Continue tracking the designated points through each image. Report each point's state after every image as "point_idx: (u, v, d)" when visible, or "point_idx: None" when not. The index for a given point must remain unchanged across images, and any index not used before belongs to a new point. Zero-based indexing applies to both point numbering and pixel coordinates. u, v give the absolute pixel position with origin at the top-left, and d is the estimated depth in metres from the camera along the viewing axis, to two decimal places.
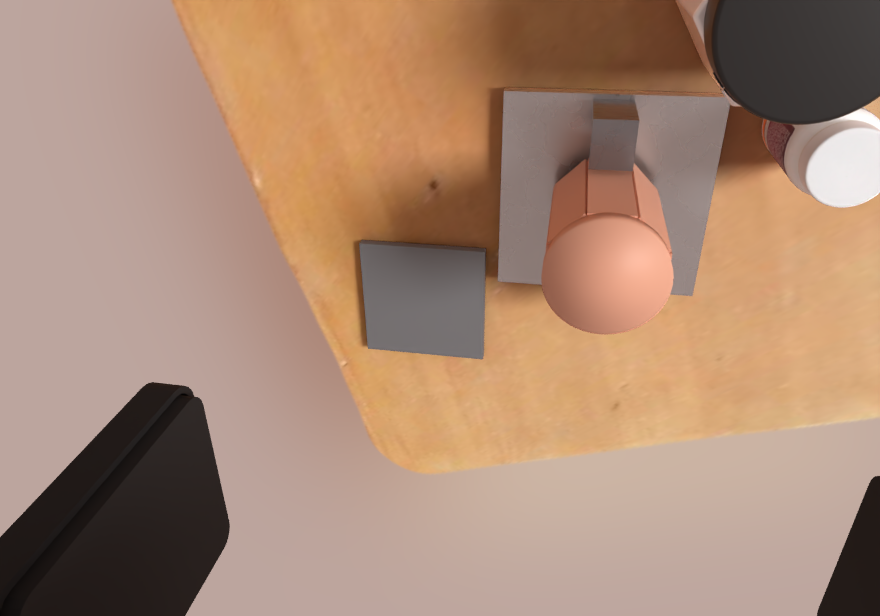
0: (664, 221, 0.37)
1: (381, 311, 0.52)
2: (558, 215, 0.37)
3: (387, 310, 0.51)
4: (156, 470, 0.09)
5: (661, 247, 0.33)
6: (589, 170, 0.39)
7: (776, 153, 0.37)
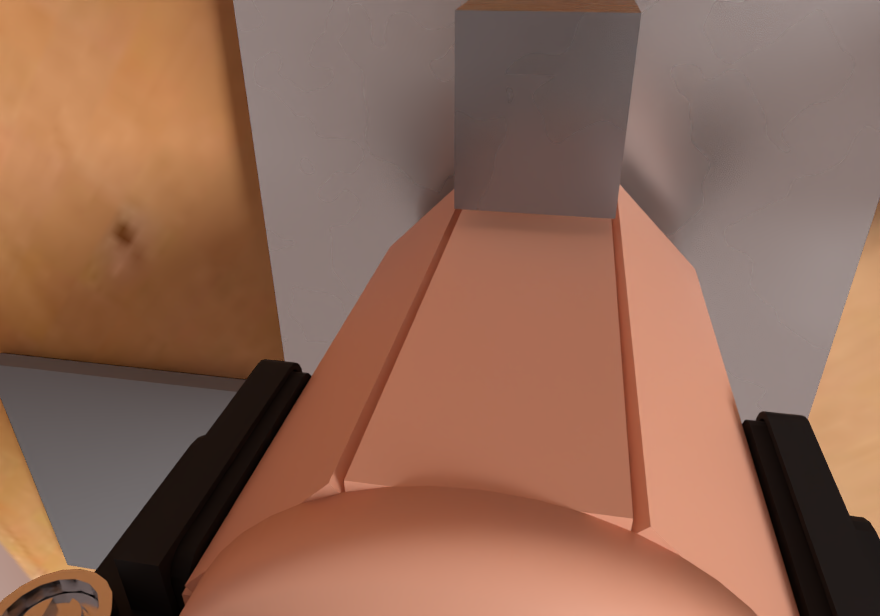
0: (741, 428, 0.09)
1: (73, 500, 0.24)
2: (310, 400, 0.09)
3: (84, 499, 0.23)
4: None
5: None
6: (466, 212, 0.11)
7: None
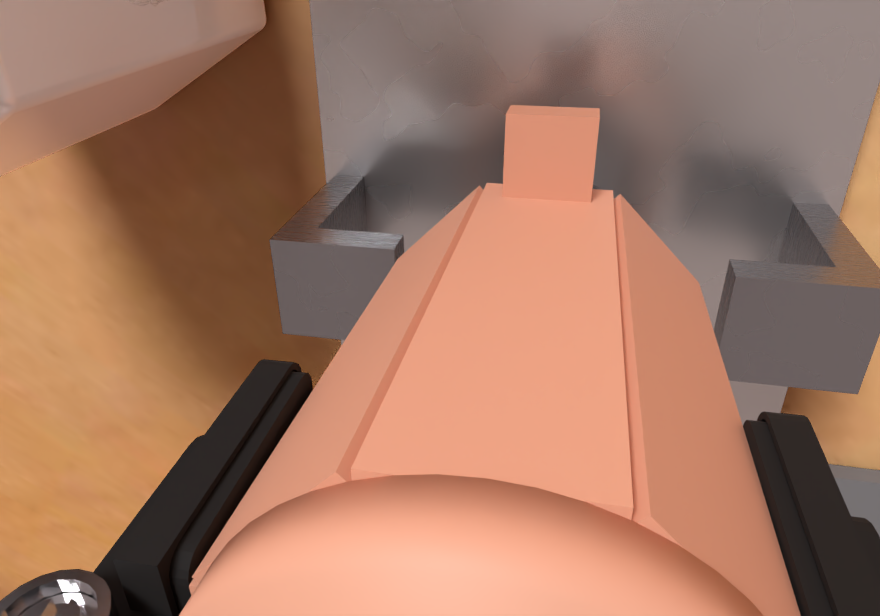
0: (744, 434, 0.09)
1: None
2: (316, 402, 0.09)
3: None
4: (279, 440, 0.09)
5: None
6: (472, 222, 0.11)
7: None
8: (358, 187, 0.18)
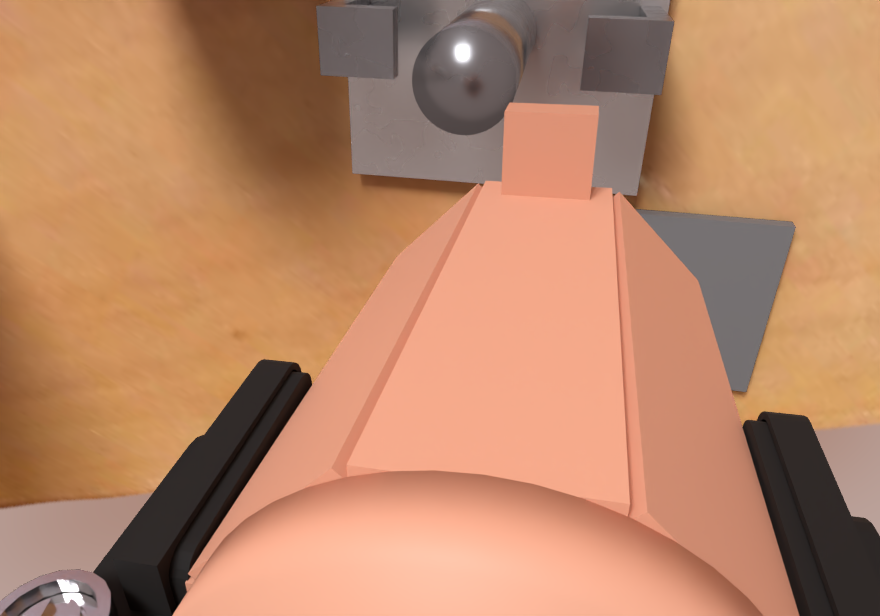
0: (742, 432, 0.09)
1: None
2: (315, 399, 0.09)
3: None
4: None
5: None
6: (471, 220, 0.11)
7: None
8: None
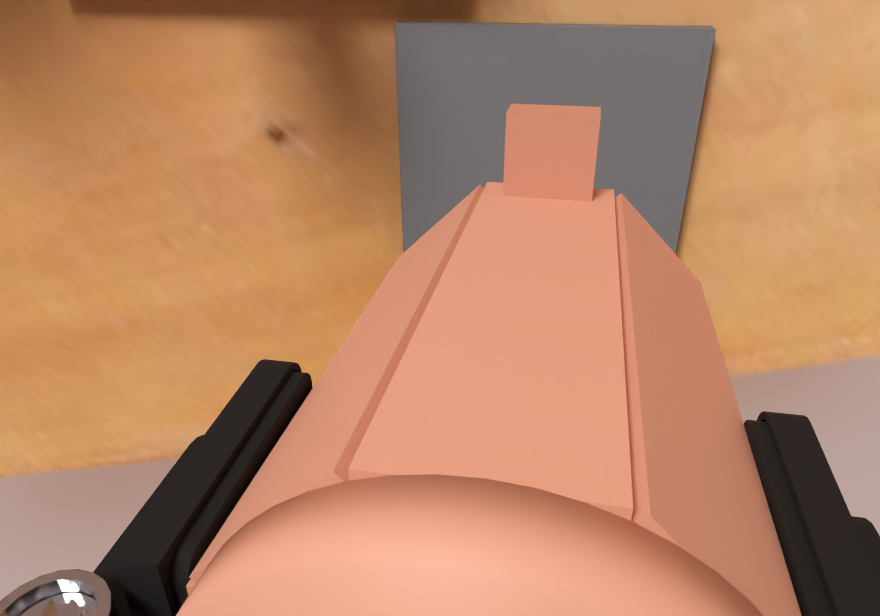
0: (745, 434, 0.09)
1: None
2: (315, 401, 0.09)
3: None
4: None
5: None
6: (473, 221, 0.11)
7: None
8: None
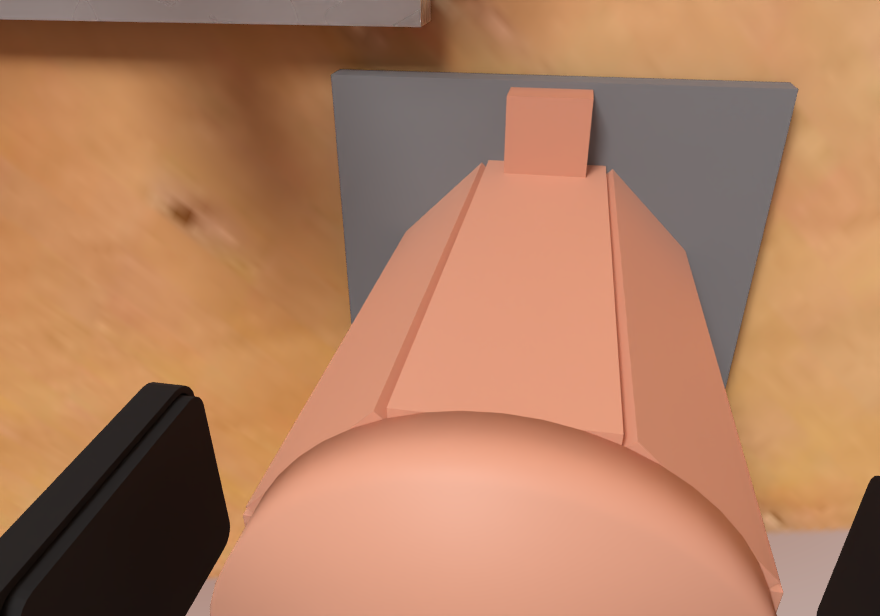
0: (722, 383, 0.10)
1: None
2: (343, 359, 0.10)
3: None
4: (156, 470, 0.09)
5: None
6: (477, 197, 0.12)
7: None
8: None
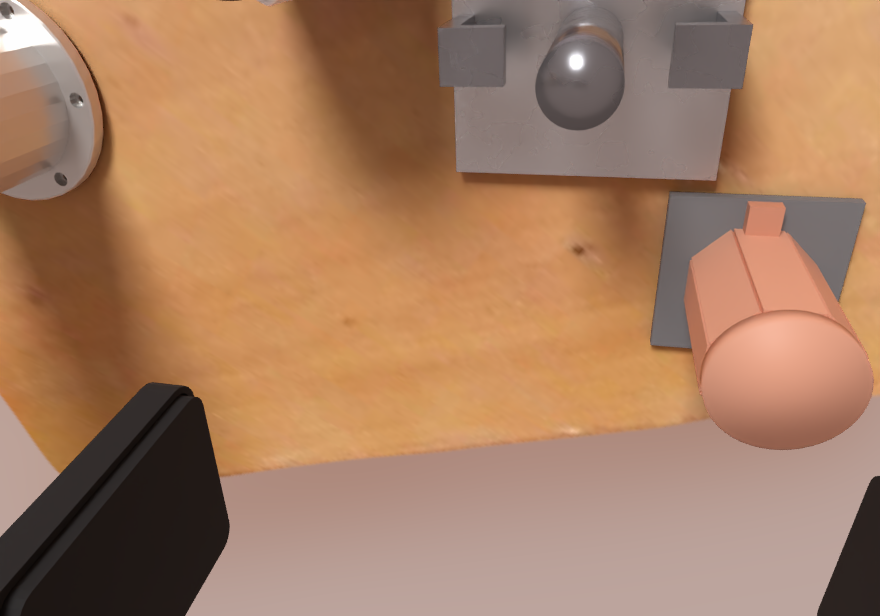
0: (842, 311, 0.31)
1: None
2: (713, 304, 0.31)
3: None
4: (156, 470, 0.09)
5: (861, 354, 0.27)
6: (742, 246, 0.33)
7: None
8: (472, 18, 0.32)
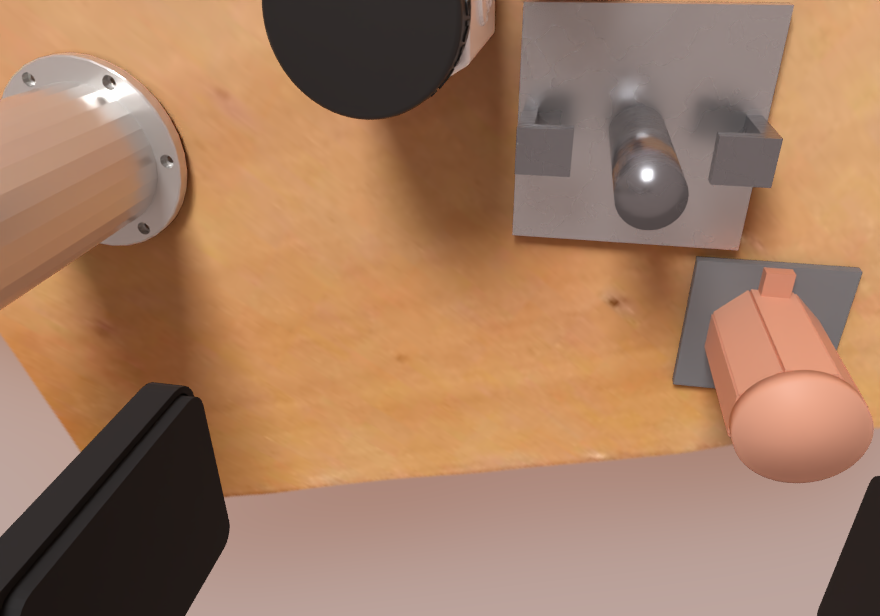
0: None
1: None
2: (739, 359, 0.37)
3: None
4: (156, 470, 0.09)
5: (864, 408, 0.33)
6: (760, 307, 0.39)
7: None
8: (538, 111, 0.37)
